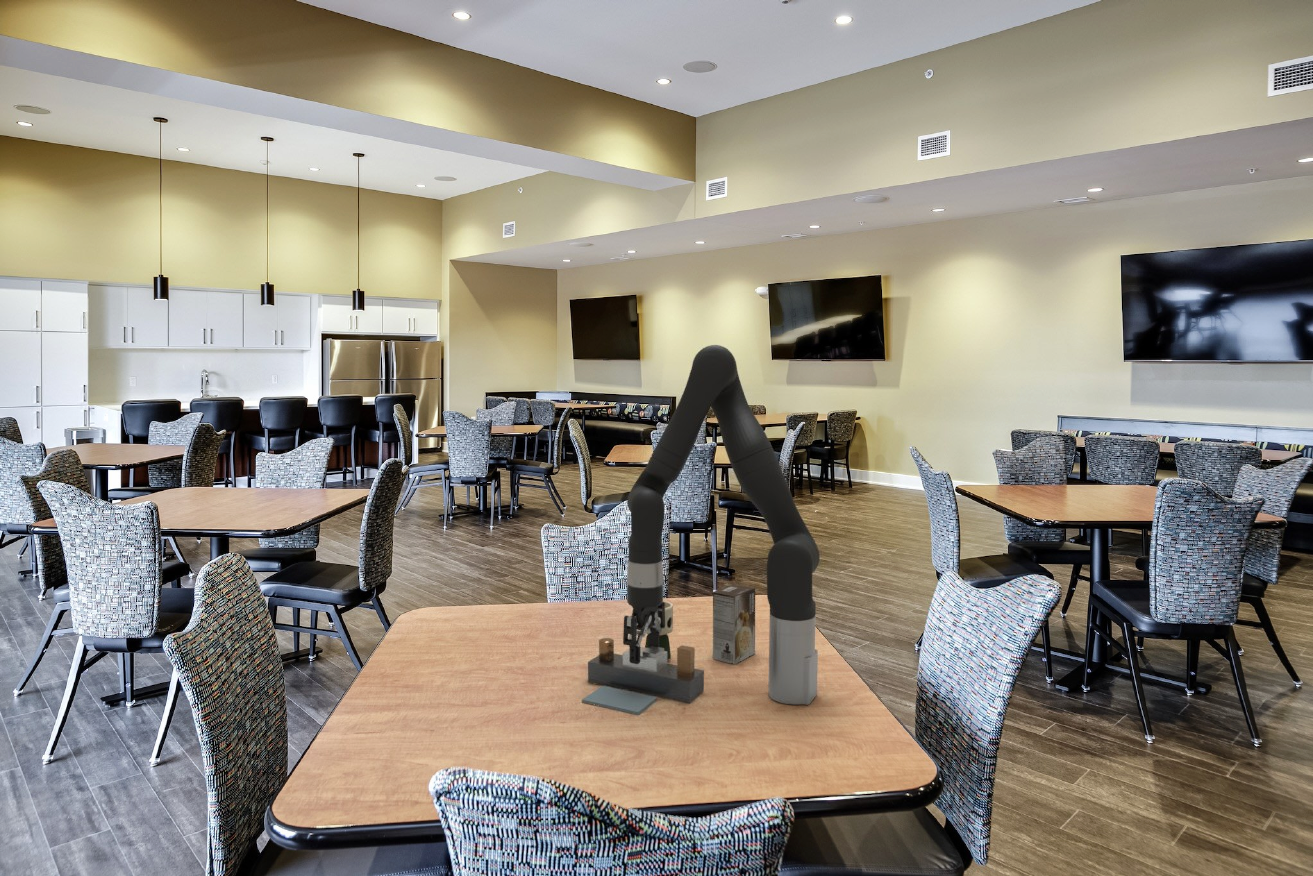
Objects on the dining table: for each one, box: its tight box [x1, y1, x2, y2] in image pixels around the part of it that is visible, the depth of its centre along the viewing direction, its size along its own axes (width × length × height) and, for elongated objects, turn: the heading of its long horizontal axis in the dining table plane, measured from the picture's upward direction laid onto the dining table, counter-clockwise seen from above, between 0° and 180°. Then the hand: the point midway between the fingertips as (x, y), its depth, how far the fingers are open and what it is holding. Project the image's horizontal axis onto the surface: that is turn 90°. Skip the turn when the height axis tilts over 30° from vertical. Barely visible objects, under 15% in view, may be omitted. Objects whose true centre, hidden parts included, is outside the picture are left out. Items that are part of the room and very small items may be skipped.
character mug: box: [644, 600, 674, 661], centre depth 186 cm, size 11×7×13 cm, turn 179°
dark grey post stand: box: [587, 637, 705, 704], centre depth 170 cm, size 24×7×10 cm, turn 63°
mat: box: [581, 685, 658, 716], centre depth 163 cm, size 13×8×1 cm, turn 63°
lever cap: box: [622, 646, 668, 673], centre depth 170 cm, size 8×5×4 cm, turn 63°
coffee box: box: [712, 583, 756, 665], centre depth 188 cm, size 9×6×16 cm
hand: (644, 656), depth 170 cm, fingers open, 8 cm apart
